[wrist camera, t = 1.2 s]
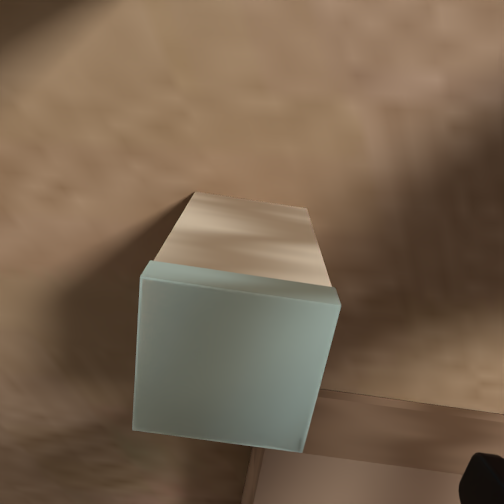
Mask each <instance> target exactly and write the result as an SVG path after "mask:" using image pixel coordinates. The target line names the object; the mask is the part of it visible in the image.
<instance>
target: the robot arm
mask: <svg viewBox="0 0 504 504" xmlns="http://www.w3.org/2000/svg"><path fill="white" fill-rule="evenodd" d="M458 492H459V499H460V503H461V504H504V458H502V457H501V456H499V455H496V454H489V453H482V452H477V453H475V454H474V455H472V457H471V459H470V461H469V463H468V465H467V467H466V470H465V472H464V474H463V476H462V478H461V480H460V483H459V489H458Z"/></svg>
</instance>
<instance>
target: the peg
mask: <svg viewBox="0 0 504 504" xmlns="http://www.w3.org/2000/svg"><path fill="white" fill-rule="evenodd" d="M340 309H341V303H340V300H339V297H338V294H337V291H336V288H335V287H332V286H331V283H330V280H329V276H328V273H327V270H326V267H325V264H324V261H323V257H322V254H321V251H320V248H319V245H318V242H317V239H316V235H315V232H314V229H313V226H312V223H311V220H310V217H309V213H308V210H307V208H301V207H295V206H288V205H282V204H275V203H269V202H262V201H255V200H249V199H242V198H236V197H229V196H223V195H216V194H210V193H203V192H196V191H195V193H194V194H193V196H192V198H191V199H190V201H189V203H188V204H187V206H186V208H185V209H184V211H183V213H182V214H181V216H180V218H179V219H178V221H177V223H176V224H175V226H174V228H173V229H172V231H171V232H170V234H169V236H168V237H167V239H166V241H165V242H164V244H163V246H162V247H161V249H160V251H159V252H158V254H157V256H156V257H155V259H154V261H152V260H150V261H149V263H148V265H147V266H146V268H145V269H144V271H143V273H142V274H141V276H140V289H139V308H138V327H137V346H136V366H135V385H134V404H133V423H132V430H135V431H142V432H150V433H157V434H165V435H172V436H180V437H187V438H194V439H202V440H209V441H217V442H224V443H232V444H239V445H247V446H254V447H261V448H269V449H276V450H284V451H291V452H299V453H303V449H304V445H305V441H306V437H307V434H308V430H309V426H310V422H311V418H312V415H313V411H314V407H315V403H316V400H317V396H318V392H319V388H320V384H321V381H322V377H323V373H324V369H325V365H326V362H327V358H328V354H329V350H330V346H331V343H332V339H333V335H334V331H335V327H336V324H337V320H338V316H339V312H340Z"/></svg>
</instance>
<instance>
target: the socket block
mask: <svg viewBox="0 0 504 504" xmlns="http://www.w3.org/2000/svg"><path fill="white" fill-rule="evenodd" d="M477 452H482V453H489V454H496V455H499V456H501V457H502V458H504V415H503V414H495V413H488V412H481V411H474V410H467V409H460V408H452V407H445V406H438V405H431V404H424V403H417V402H409V401H402V400H395V399H388V398H381V397H374V396H366V395H359V394H352V393H345V392H338V391H331V390H323V389H319V392H318V396H317V400H316V403H315V407H314V411H313V415H312V418H311V422H310V426H309V430H308V434H307V437H306V441H305V445H304V449H303V453H299V452H291V451H284V450H276V449H269V448H261V447H254V446H252V450H251V455H250V460H249V465H248V470H247V475H246V480H245V485H244V490H243V495H242V500H241V504H461V503H460V499H459V492H458V489H459V483H460V480H461V478H462V476H463V474H464V472H465V470H466V467H467V465H468V463H469V461H470V459H471V457H472V455H474V454H475V453H477Z"/></svg>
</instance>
